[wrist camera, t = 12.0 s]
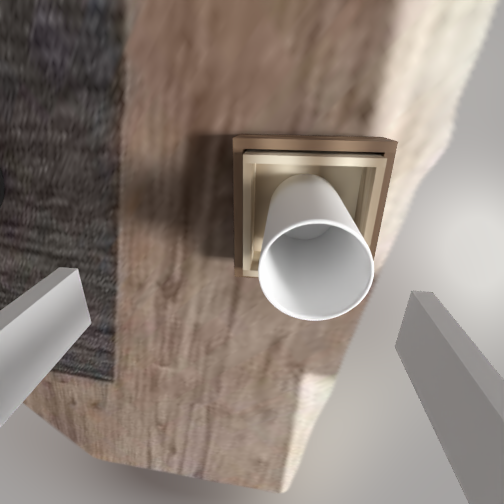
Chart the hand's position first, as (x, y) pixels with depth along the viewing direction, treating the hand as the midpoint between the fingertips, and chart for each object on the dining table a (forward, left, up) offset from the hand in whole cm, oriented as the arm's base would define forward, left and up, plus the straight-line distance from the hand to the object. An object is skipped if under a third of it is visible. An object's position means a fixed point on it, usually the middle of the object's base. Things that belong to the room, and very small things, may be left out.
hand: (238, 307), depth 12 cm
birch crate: (+4, -4, -26) cm, 27 cm away
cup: (+4, -3, -26) cm, 26 cm away
